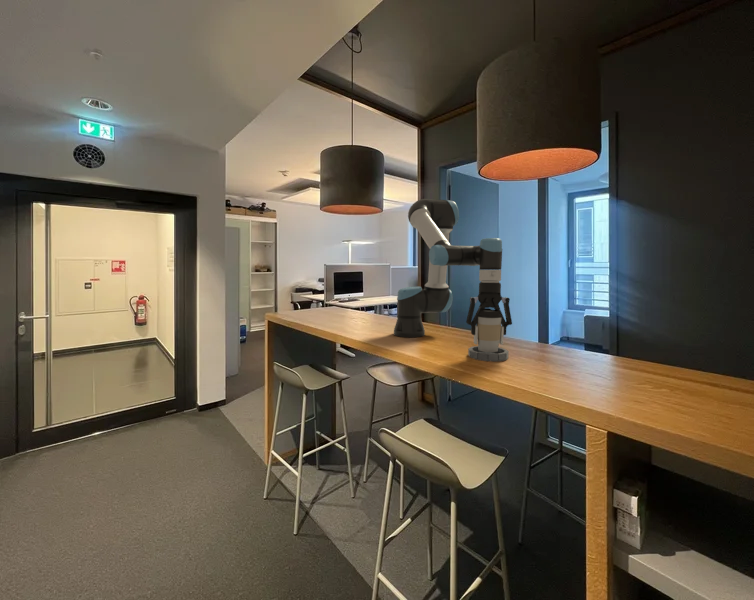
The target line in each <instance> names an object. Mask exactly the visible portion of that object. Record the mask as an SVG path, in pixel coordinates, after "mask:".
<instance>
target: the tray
mask: <svg viewBox="0 0 754 600" xmlns="http://www.w3.org/2000/svg"><path fill="white" fill-rule="evenodd" d="M467 349H468V351H467V353H468V357H469V358H470V359H474V360H476V361H483V362H503V361H507V360H508V359H509V350H507V349H506V348H503V347H500V346H498V351H497V352H483V351H479V350H478V345H475V346H473V345H472V346H470V347H468V348H467Z"/></svg>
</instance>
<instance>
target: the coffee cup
mask: <svg viewBox="0 0 754 600" xmlns="http://www.w3.org/2000/svg"><path fill="white" fill-rule="evenodd" d="M502 315H503V313H502V314H500V312H499V311H495V309H492V308H490V307H489V308H485V309H484V310H483V311H481V312H480V314H478V322H477V324H476V326H478V341H477V346H478V350H479V351H483V352H497V351H498V347H500V346H499V345H500V343H499V340H500V332H501V326H502V324H501V318H502Z"/></svg>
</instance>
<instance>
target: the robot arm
mask: <svg viewBox="0 0 754 600" xmlns="http://www.w3.org/2000/svg"><path fill="white" fill-rule="evenodd" d="M407 214H408V215H407V217H408V221H409V223H410V225H411V226H412V228H414V229H416V230H417V231H418V233H419V235H420V236H421V237H422V239H423V240H424V243H425V244H426V245H427V247H428V249H429V251H428V258H429V263H428V264H429V265H428V275H427V277H428V279H427V280H428V281H427V282H426V283H425V284H424V288H422V286H409V287H403V288H400V289H398V291H397V297H396V300H397V301H396V302H397V305H396V306H397V308H396V309H397V317H396V318H397V320H396V323H395V325H394V328H393V335H394V336H396V337H399V338H420V337H425V334H426V333H425V332H426V331H425V330H426V329H425V327H424V324H423V321H422V314H427V313H428V314H429V313H434V314H435V313H438V314H441V313H445V312H447V311H449V310H450V309H451V308H452V307H451V306H452V304H453V300H454V298H453V293H452V290H451V289H450V288H449V287H450V286H449V285H448V284H447V283H446V282H447V270H448V269H447V268H448V266H461V267H462V266H468V267H469V266H470V267H477V266H479V276H478V279H479V280H478V281H480V282H479V283H478V295H477V296H474V297H472V296H470V297H469V307H468V313H467V316H466V321H465V323H466V324H467V325H470V327H471V329H470V333H471V335H473V344H474V345H478V326H477V322H478V314H480V312H481V311H483V310H484V309H485V308H489V309H493V310H495V311H499V312H500V314H502V318H501V332H500V340H499V345H504V336H506V335H507V327H508V326H511V325H513V321H512V315H511V308H510V298H509V297H506V296H505V297H504V296H502V292H501V291H502V284H501V280H502V267H503V265H502V262H503V240H502V239H501V238H499V237H498V238H497V237H494V238H493V237H492V238H491V237H490V238H487V237H485V238H482V239H480V242H479V245H452V244H451V243H450V242H449V240H450V233H451V232H452V231H453V230H454V227H455V226H456V225H457V224H458V221H459V218H460V210H459V208H458V205H457V203H456V202H455V201H453V200H448V199H434V198H433V199H432V198H422V199H419V200H416V201H415V202H414V203H412V205H411V206H410V207H409V209H408V213H407ZM477 302H479V303H480V304H479V306H478V308H477V311H476V313H475V315H474V312H475V306H476V304H477ZM500 302H502V304H503V309H504V310H503V311H504V315H503V312H502V310H501V307H500V306H499V303H500ZM473 316H474V317H473ZM504 316H505V317H504Z"/></svg>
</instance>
